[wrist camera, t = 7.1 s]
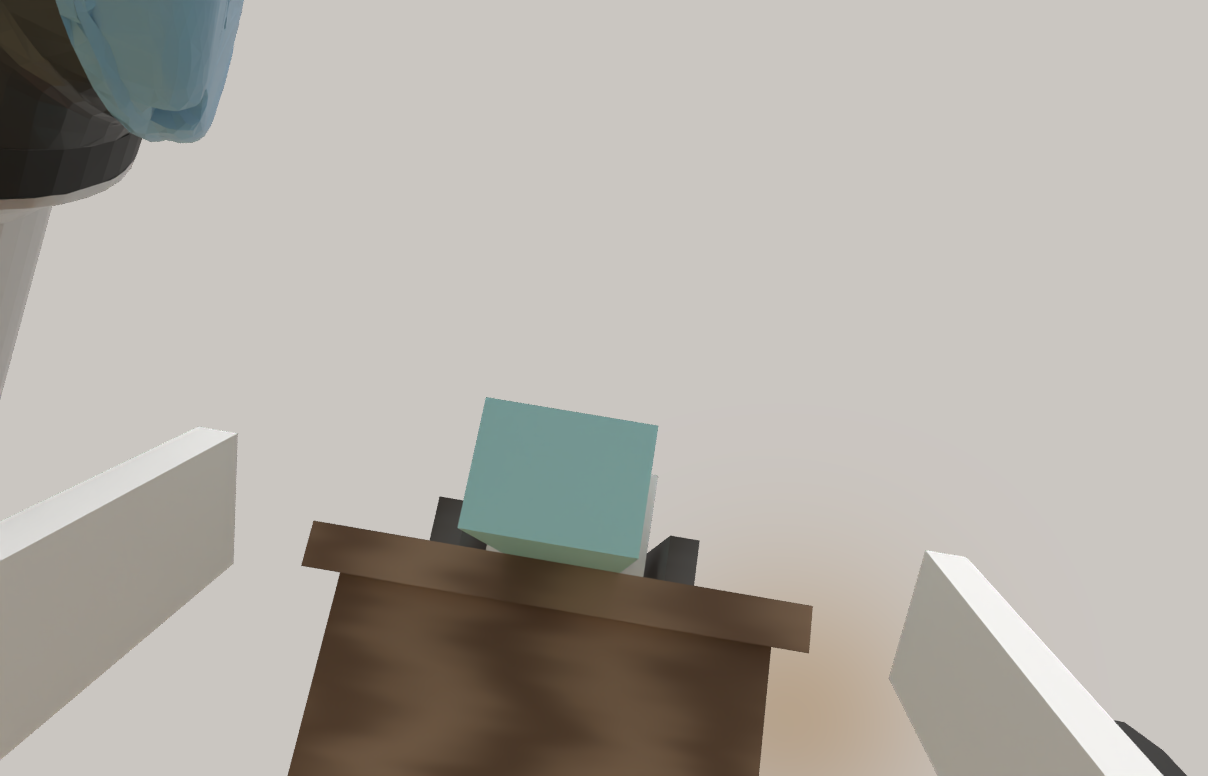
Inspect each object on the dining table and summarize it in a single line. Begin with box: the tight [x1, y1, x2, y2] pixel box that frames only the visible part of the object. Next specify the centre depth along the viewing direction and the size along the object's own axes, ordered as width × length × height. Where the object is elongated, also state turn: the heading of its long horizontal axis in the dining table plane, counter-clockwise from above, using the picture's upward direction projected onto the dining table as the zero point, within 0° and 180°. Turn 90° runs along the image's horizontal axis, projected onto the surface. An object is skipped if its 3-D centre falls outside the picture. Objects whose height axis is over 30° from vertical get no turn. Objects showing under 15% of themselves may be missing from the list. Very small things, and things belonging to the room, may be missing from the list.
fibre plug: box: [458, 397, 658, 577], centre depth 28 cm, size 6×23×4 cm, turn 1°
